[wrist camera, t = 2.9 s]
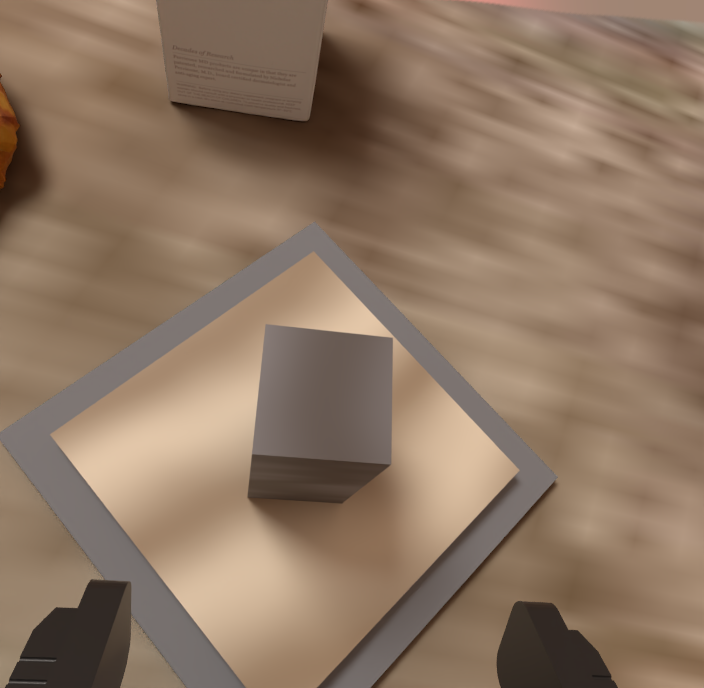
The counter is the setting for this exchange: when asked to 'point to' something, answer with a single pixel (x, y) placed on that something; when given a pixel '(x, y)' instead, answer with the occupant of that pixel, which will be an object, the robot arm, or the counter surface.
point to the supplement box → (243, 54)
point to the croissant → (6, 134)
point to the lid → (287, 474)
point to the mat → (130, 564)
